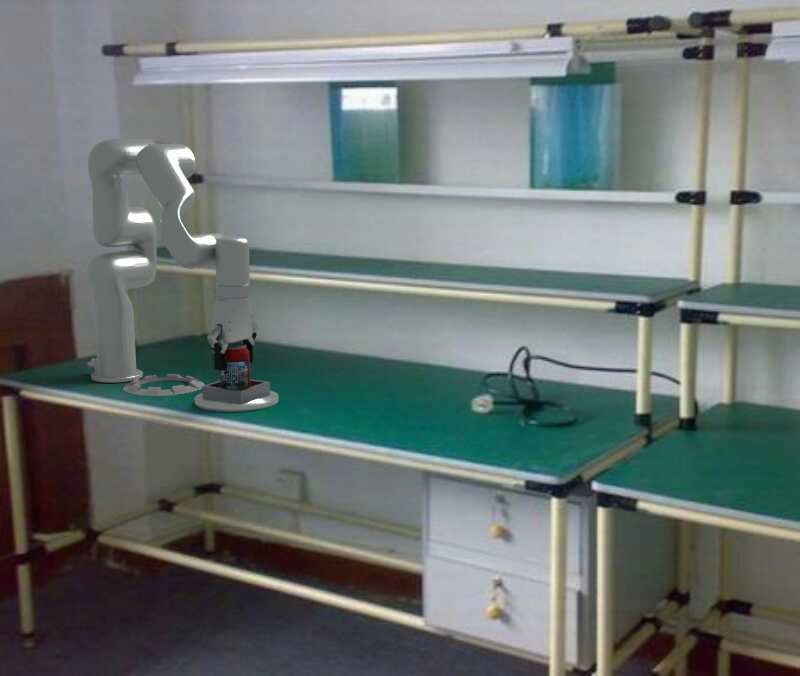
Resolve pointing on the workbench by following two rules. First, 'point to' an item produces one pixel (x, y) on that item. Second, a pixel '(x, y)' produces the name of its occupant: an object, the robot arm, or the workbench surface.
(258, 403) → the rosette plate
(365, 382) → the workbench surface
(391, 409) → the workbench surface
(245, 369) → the beverage can
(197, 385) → the ring
